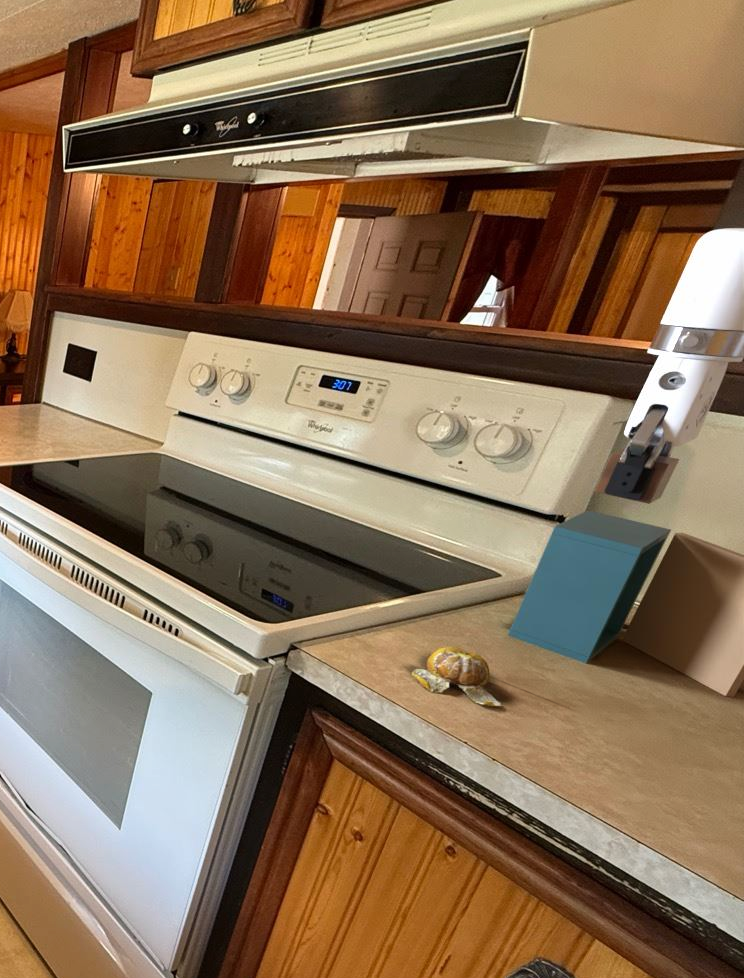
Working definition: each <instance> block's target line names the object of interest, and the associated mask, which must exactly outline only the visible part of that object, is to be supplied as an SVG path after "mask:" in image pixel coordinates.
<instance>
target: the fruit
mask: <svg viewBox="0 0 744 978" xmlns="http://www.w3.org/2000/svg"><path fill="white" fill-rule="evenodd" d="M426 667H427V668H426V669H422V668H415V669H413V671H412V672H411V675H412V677H413V678H414V679H416V680H417V681H418V682H419V684H420V685H421V686H422V687H423V688H426V689H427V691H430V692H431V693H435V694H437V693H438V694H439V693H440V694H442V693H443V692H444V691H445V690H447V689H449V688H450V684H453V685H456V686H458V687H459V688H460V689H462V691H463V692H464V693H465V694H466V695H467V697H468V698H469V699H471V700H472V701H473V702H474V703H475V704H479V705H484V706H487V707H502V706H503V704H502V703H501V702H500V701H498V699H496V698H495V697H494V696H493V694H491V693H489V692H488V690H486V689H485V688H484V686H485V685H487V683H488V682H489V681H490V667H489V665H488V662H487V661H486V660H485V659H484V658H483V657H482V656H481V655H479V654H478V653H475V652H473V651H472V652H471V651H469V650H465V649H463V648H459V647H454V646H446V647H445V646H444V647H440V648H438V649H437V650H435V651H434V652H432V653H431V655H430V656H429V657H428V658H427V660H426Z"/></svg>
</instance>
